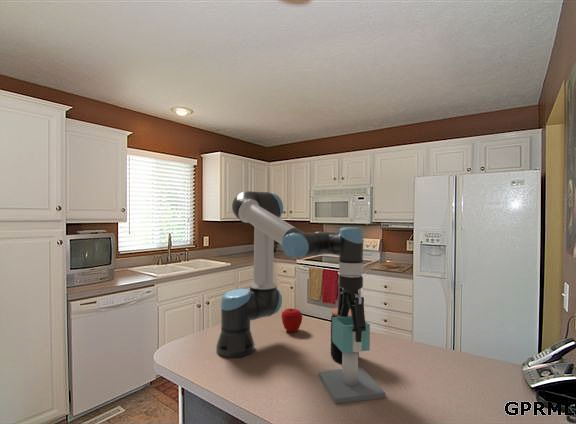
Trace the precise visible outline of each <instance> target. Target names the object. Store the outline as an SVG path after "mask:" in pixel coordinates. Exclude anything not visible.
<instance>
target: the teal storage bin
mask: <svg viewBox="0 0 576 424" xmlns="http://www.w3.org/2000/svg"><path fill="white" fill-rule="evenodd" d="M365 325H366V331H362V352H366V351H367V352H368V351H371V350H370V349H371V347H370V345H371V343H370V342H371V339H370V338H371V331H370V330H371V325H370V323H368V322H367V321H365ZM353 329H354V326H353V320H352V316H342V317H332V342H333V343H334V344H335V345H336V346H337V347H338V348H339V349H340V351H341V352H342V353H347V352H353V351H352V339H353V331H352V330H353Z"/></svg>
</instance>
